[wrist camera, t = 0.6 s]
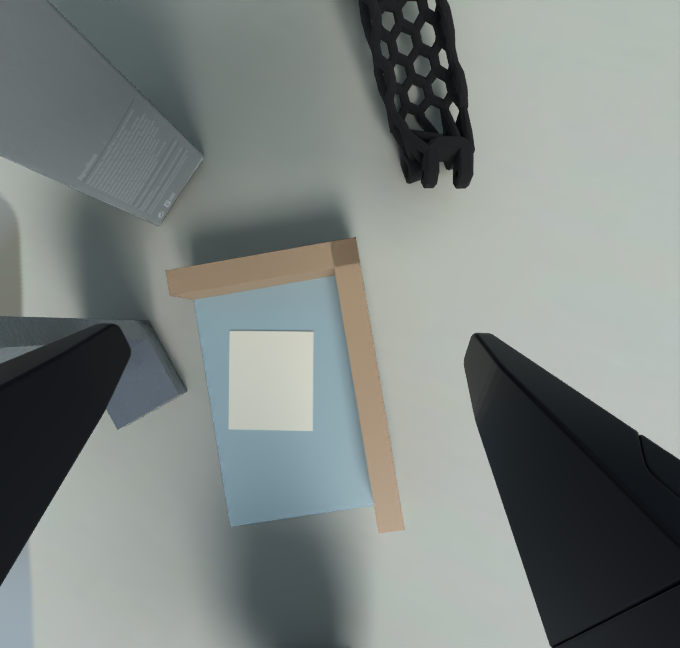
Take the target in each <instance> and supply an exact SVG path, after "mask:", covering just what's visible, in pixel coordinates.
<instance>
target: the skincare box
mask: <svg viewBox="0 0 680 648" xmlns="http://www.w3.org/2000/svg"><path fill="white" fill-rule="evenodd" d="M0 156H2V157H4V158H6V159H9V160H11V161H13V162H15V163H18V164H20V165H22V166H24V167H27V168H29V169H31V170H33V171H36V172H38V173H40V174H42V175H45V176H47V177H49V178H51V179H53V180H56V181H58V182H60V183H62V184H65V185H67V186H69V187H71V188H74V189H76V190H78V191H81V192H83V193H85V194H87V195H90V196H92V197H94V198H96V199H99V200H101V201H103V202H105V203H107V204H110V205H112V206H114V207H117V208H119V209H121V210H123V211H126V212H128V213H130V214H132V215H134V216H137V217H139V218H141V219H143V220H146V221H148V222H150V223H152V224H154V225H157V226H159V225H160V224H161V222H162V221H163V219H164V218H165V216H166V215H167V213H168V212H169V210H170V209H171V207H172V205H173V204H174V202H175V201H176V199H177V197H178V196H179V194H180V193H181V191H182V190H183V188H184V187H185V185H186V184H187V182H188V181H189V179H190V178H191V176H192V175H193V173H194V171H195V170H196V169H197V167H198V166H199V165H200V163H201V162H202V161H203V159H204V156H203V154H202V153H201V152H200V151H199V150H198V149H197V148H196V147H195V146H194V145H193V144H192V143H191V142H190V141H189V140H188V139H187V138H186V137H185V136H184V135H183V134H182V133H181V132H180V131H179V130H178V129H177V128H176V127H175V126H174V125H173V124H172V123H171V122H170V121H169V120H168V119H167V118H166V117H165V116H164V115H163V114H162V113H160V112H159V111H158V110H157V109H156V108H155V107H154V106H153V105H152V104H151V102H150V101H149V100H148V99H147V98H146V97H145V96H144V95H142V94H141V93H140V92H139V91H138V90H137V89H136V88H135V87H134V86H133V85H132V84H131V83H130V82H129V81H128V80H127V79H126V78H125V77H124V76H123V75H122V74H121V73H120V72H119V71H118V70H117V69H116V68H115V67H114V66H113V65H112V64H111V63H110V62H109V61H108V60H107V59H106V58H105V57H104V56H103V55H102V54H101V53H100V52H99V51H98V50H97V49H96V48H95V47H94V46H93V45H92V44H91V43H90V42H89V41H88V40H87V39H86V38H85V37H84V36H83V35H82V34H81V33H80V32H79V31H78V30H77V29H76V28H75V27H74V26H73V25H72V24H71V23H70V22H69V21H68V20H67V19H66V18H65V17H64V16H63V15H62V14H61V13H60V12H59V11H58V10H57V9H56V8H55V7H54V6H53V5H52V4H51V3H50V2H49V1H48V0H0Z"/></svg>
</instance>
